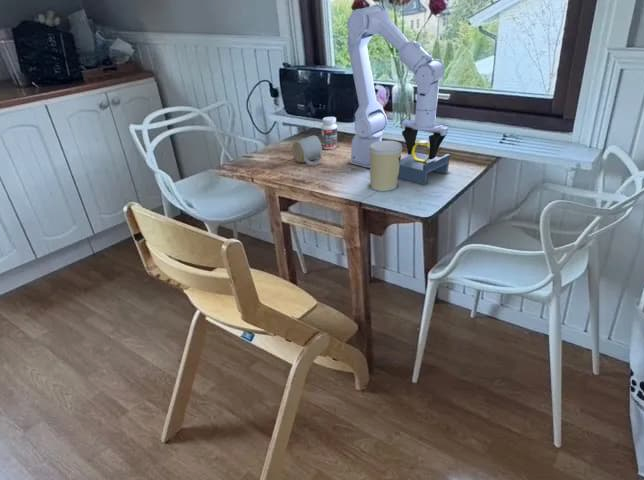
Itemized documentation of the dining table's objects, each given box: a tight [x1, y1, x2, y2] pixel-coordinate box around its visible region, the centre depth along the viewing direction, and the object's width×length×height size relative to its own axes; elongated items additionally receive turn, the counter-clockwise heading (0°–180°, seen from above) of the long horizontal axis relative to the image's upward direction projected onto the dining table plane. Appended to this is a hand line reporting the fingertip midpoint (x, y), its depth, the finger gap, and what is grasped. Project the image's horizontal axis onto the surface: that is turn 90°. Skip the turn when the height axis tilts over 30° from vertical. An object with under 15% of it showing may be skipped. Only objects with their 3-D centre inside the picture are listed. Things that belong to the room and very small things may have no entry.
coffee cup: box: [369, 140, 403, 192], centre depth 152 cm, size 9×9×12 cm
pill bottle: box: [320, 116, 338, 150], centre depth 185 cm, size 6×6×10 cm
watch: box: [411, 139, 430, 162], centre depth 156 cm, size 6×3×6 cm, turn 49°
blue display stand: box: [398, 152, 451, 185], centre depth 158 cm, size 12×12×6 cm
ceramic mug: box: [291, 134, 323, 167], centre depth 176 cm, size 11×8×8 cm
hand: (421, 156), depth 156 cm, fingers open, 7 cm apart
